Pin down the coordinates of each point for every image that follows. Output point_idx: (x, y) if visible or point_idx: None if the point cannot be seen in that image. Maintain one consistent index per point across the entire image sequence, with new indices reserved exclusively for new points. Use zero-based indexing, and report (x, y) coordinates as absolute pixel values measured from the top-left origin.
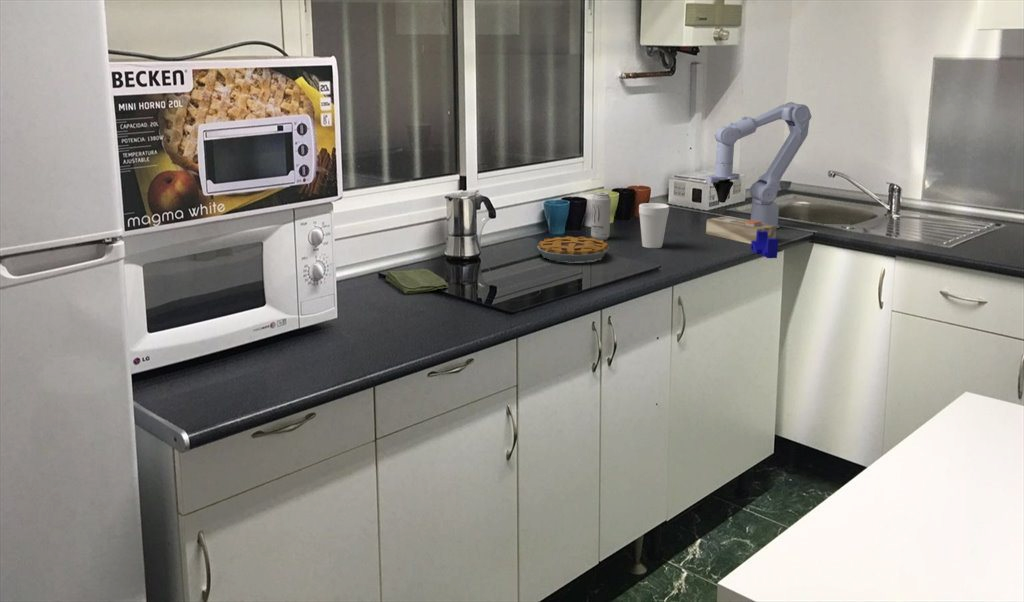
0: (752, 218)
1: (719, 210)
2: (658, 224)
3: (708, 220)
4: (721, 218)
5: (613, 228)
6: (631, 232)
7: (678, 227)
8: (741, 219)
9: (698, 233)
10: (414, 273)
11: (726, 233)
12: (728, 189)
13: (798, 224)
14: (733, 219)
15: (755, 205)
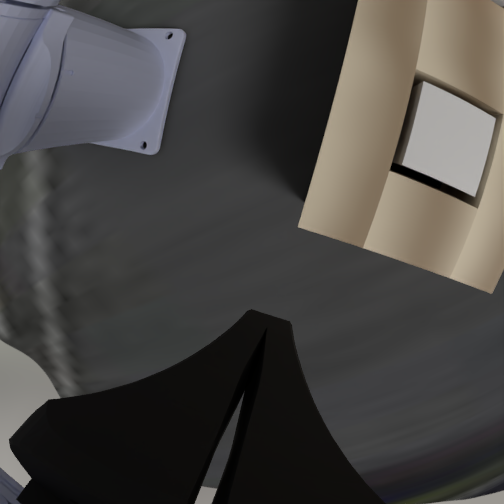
0: (128, 103)
1: (23, 352)
2: None
3: (496, 276)
4: (425, 219)
5: (454, 483)
6: (497, 443)
7: (366, 403)
8: (362, 63)
9: (459, 291)
10: None
11: None
12: (196, 397)
13: None
14: (416, 116)
15: (70, 75)
